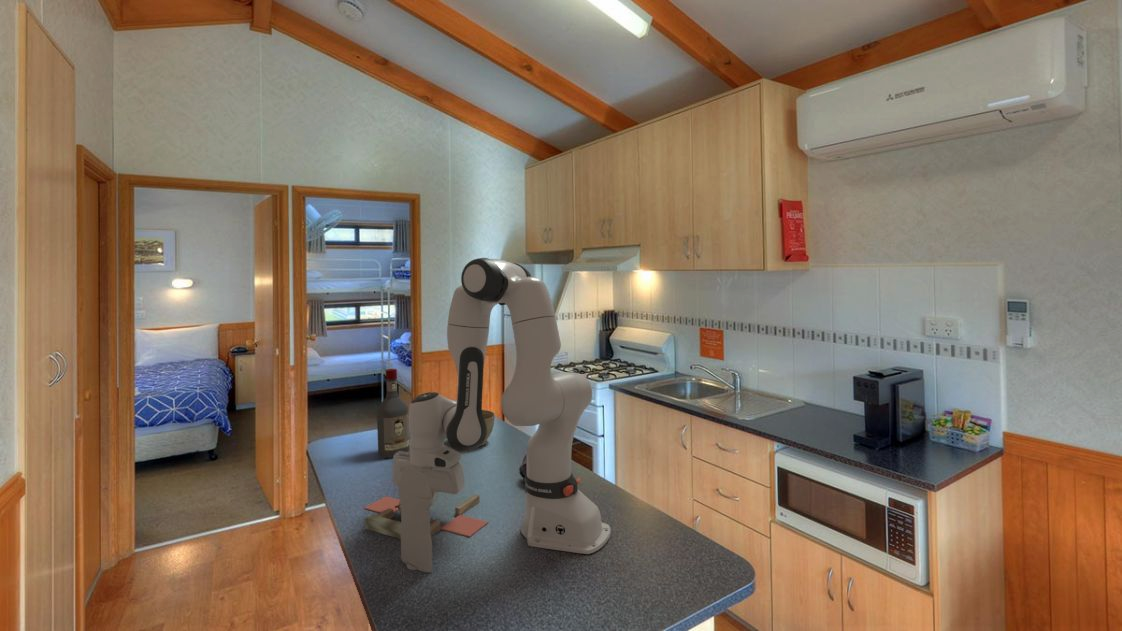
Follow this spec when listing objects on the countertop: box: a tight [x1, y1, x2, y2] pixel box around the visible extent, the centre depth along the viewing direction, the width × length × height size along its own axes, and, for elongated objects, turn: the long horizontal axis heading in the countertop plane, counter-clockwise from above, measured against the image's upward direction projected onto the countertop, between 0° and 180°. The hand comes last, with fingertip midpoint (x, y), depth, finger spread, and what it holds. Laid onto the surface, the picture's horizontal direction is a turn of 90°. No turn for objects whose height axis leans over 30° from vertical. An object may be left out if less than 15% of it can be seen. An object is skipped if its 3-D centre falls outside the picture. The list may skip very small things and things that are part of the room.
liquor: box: [376, 368, 410, 459], centre depth 185 cm, size 9×9×30 cm
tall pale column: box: [397, 467, 434, 574], centre depth 116 cm, size 11×4×22 cm, turn 55°
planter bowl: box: [479, 409, 496, 447], centre depth 197 cm, size 16×16×11 cm
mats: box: [363, 495, 489, 538], centre depth 140 cm, size 35×8×1 cm, turn 64°
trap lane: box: [365, 494, 481, 540], centre depth 140 cm, size 17×25×3 cm
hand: (428, 504), depth 142 cm, fingers closed
